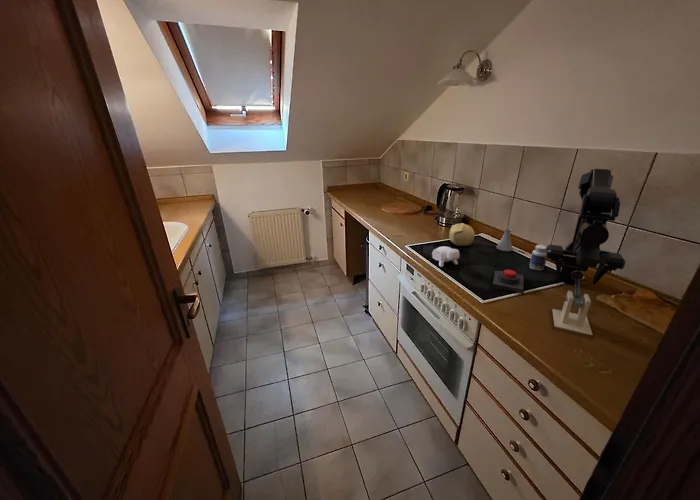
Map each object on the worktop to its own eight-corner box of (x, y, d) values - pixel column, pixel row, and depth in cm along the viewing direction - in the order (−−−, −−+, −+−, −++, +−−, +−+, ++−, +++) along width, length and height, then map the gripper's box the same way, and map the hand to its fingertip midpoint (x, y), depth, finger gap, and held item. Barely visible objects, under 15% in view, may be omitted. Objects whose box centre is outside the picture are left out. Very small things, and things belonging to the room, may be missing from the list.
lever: (569, 273, 96) (572, 267, 94) (581, 275, 94) (584, 269, 92) (569, 306, 89) (572, 300, 86) (582, 309, 87) (586, 303, 85)
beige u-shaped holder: (551, 311, 97) (559, 284, 93) (585, 318, 93) (595, 291, 89) (554, 328, 89) (562, 300, 85) (591, 337, 85) (602, 308, 81)
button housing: (494, 275, 120) (496, 266, 119) (522, 280, 116) (524, 271, 114) (491, 288, 111) (493, 279, 109) (522, 294, 106) (524, 285, 105)
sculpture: (447, 239, 158) (449, 219, 154) (471, 240, 156) (473, 220, 151) (449, 247, 148) (451, 226, 143) (474, 248, 145) (478, 227, 141)
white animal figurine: (430, 266, 136) (448, 268, 121) (428, 247, 136) (446, 247, 121) (447, 263, 138) (466, 265, 123) (445, 245, 138) (464, 245, 123)
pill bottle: (544, 272, 121) (549, 250, 118) (528, 269, 124) (533, 247, 120) (543, 266, 126) (548, 245, 122) (529, 264, 128) (533, 243, 124)
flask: (493, 249, 144) (497, 229, 140) (499, 244, 149) (502, 225, 145) (509, 253, 140) (513, 233, 136) (514, 248, 144) (518, 228, 141)
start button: (503, 272, 114) (504, 268, 114) (515, 274, 113) (516, 270, 112) (502, 277, 111) (503, 273, 110) (515, 279, 109) (515, 275, 109)
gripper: (554, 238, 86) (542, 285, 92) (639, 249, 77) (619, 300, 83) (551, 227, 94) (540, 270, 101) (627, 235, 86) (610, 282, 92)
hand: (575, 280), depth 94 cm, fingers open, 9 cm apart
